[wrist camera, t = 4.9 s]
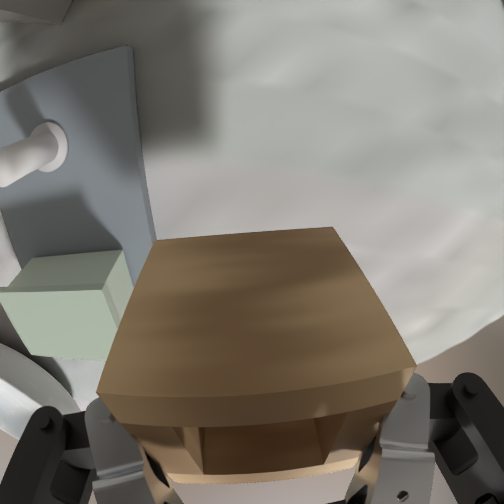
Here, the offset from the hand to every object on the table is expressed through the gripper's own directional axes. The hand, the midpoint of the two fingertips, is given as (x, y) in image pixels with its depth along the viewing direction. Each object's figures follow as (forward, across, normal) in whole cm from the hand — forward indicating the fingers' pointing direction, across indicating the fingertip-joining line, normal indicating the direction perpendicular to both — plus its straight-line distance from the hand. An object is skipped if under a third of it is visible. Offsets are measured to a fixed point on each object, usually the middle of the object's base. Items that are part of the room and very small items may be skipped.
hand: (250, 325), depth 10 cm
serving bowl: (+10, +29, +18) cm, 36 cm away
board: (+10, +12, -2) cm, 16 cm away
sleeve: (+1, 0, 0) cm, 1 cm away
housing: (+8, +12, +3) cm, 15 cm away
